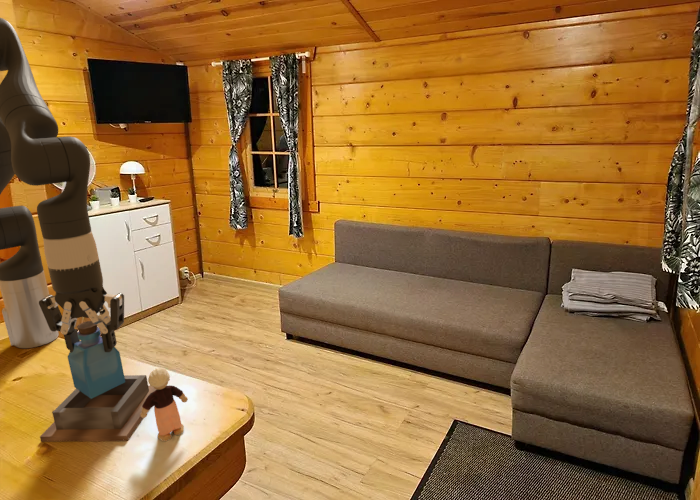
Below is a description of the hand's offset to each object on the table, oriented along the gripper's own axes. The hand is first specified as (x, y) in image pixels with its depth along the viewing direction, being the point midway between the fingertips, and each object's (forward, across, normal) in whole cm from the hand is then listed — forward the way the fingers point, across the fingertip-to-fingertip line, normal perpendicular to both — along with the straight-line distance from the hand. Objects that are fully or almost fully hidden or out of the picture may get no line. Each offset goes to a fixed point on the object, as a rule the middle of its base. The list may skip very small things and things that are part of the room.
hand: (92, 350), depth 85 cm
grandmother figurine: (+13, -14, +6) cm, 20 cm away
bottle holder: (+13, 0, 0) cm, 13 cm away
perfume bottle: (+7, 0, 0) cm, 7 cm away
